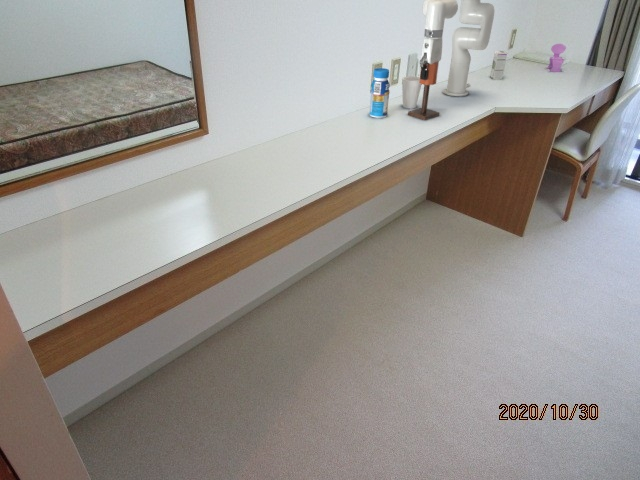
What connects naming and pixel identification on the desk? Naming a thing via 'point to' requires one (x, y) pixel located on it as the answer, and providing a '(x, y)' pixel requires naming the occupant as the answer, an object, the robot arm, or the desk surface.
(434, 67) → the cup
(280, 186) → the desk surface
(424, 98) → the holder
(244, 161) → the desk surface
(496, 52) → the syrup box
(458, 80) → the robot arm
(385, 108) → the beverage bottle
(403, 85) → the foam cup
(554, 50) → the pink figurine
